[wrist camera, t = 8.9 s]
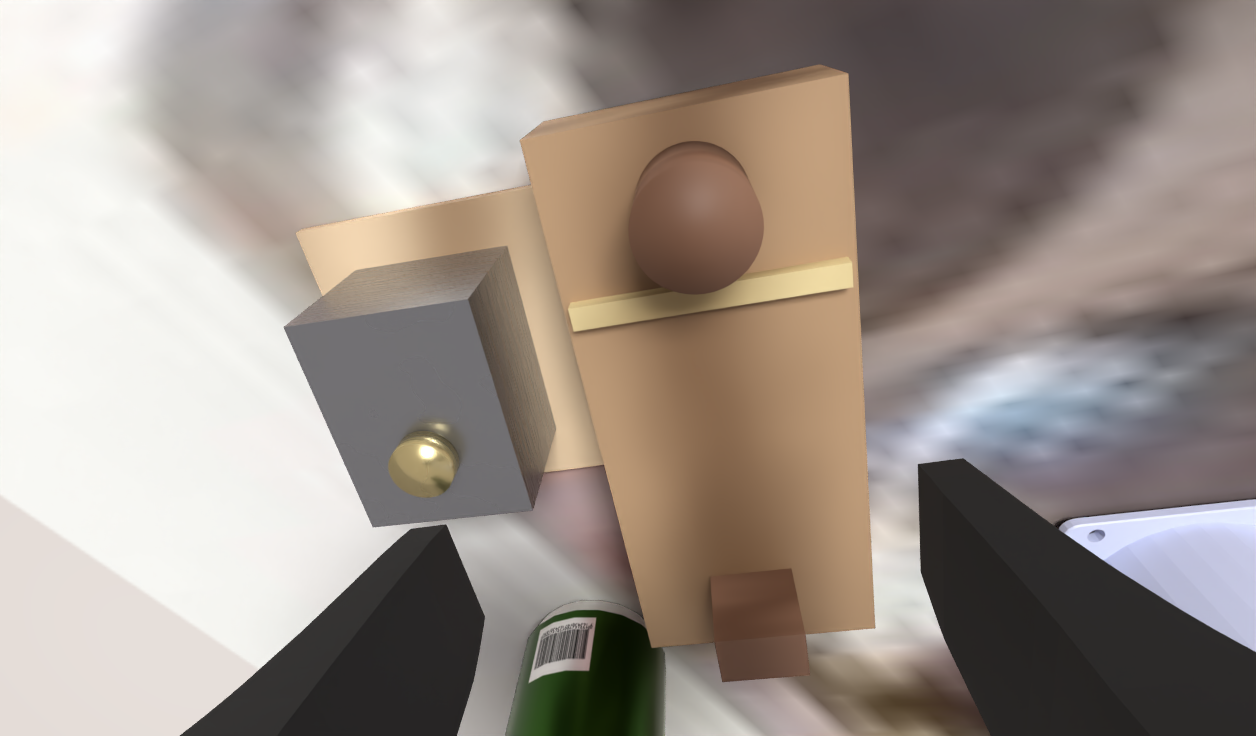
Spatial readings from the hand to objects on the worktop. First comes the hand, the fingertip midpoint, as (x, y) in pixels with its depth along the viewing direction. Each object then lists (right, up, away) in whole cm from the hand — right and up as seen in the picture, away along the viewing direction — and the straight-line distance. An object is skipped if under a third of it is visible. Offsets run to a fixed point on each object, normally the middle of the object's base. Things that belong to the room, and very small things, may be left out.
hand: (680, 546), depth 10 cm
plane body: (+2, +3, +10) cm, 11 cm away
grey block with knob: (-6, +3, +10) cm, 12 cm away
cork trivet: (-6, +3, +10) cm, 12 cm away
